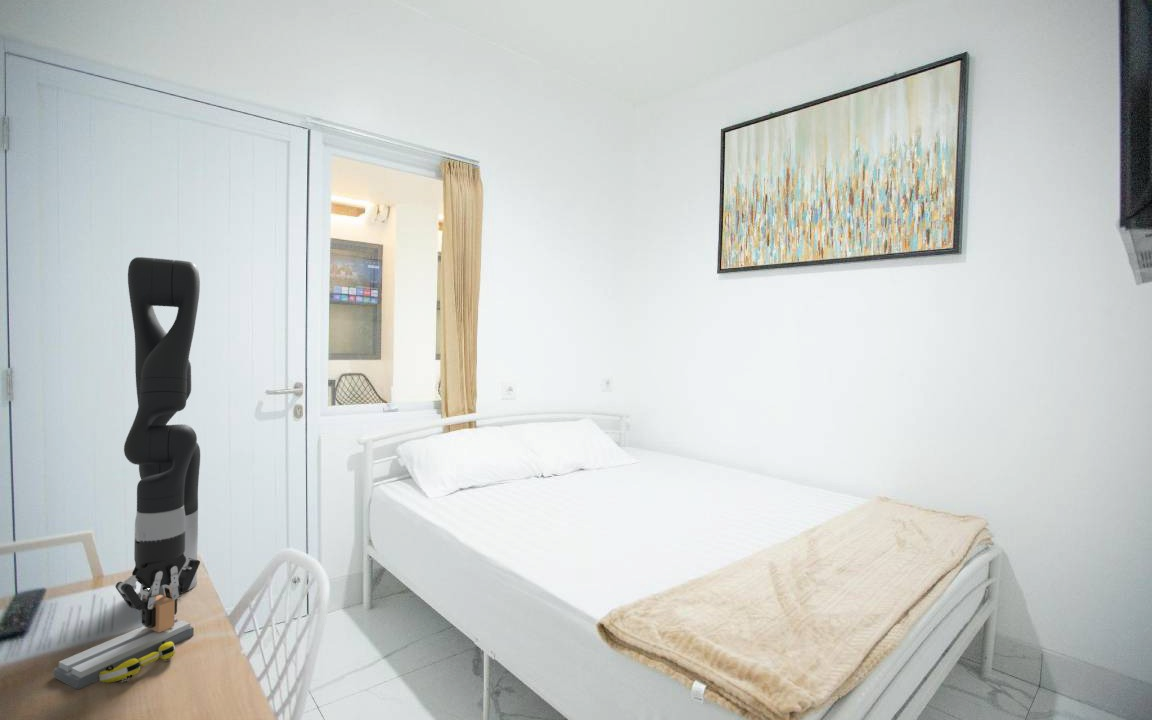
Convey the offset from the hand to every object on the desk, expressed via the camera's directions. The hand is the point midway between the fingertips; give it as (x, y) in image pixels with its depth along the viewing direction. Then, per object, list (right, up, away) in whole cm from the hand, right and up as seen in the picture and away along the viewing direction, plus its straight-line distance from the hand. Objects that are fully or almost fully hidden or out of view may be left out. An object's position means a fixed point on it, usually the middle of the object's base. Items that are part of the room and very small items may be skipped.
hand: (159, 622), depth 101 cm
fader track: (-2, -4, -5) cm, 6 cm away
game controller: (+3, -5, -8) cm, 10 cm away
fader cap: (0, -2, 0) cm, 2 cm away
